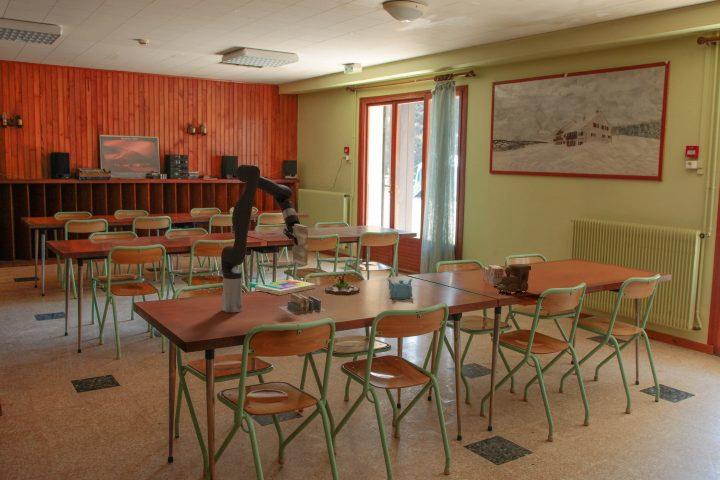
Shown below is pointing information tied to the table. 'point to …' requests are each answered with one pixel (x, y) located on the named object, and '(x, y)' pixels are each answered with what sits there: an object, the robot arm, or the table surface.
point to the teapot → (400, 289)
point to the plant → (342, 287)
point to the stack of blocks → (493, 274)
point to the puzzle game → (283, 286)
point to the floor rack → (293, 308)
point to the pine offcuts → (300, 301)
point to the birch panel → (301, 244)
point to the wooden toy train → (515, 278)
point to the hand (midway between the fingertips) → (299, 244)
